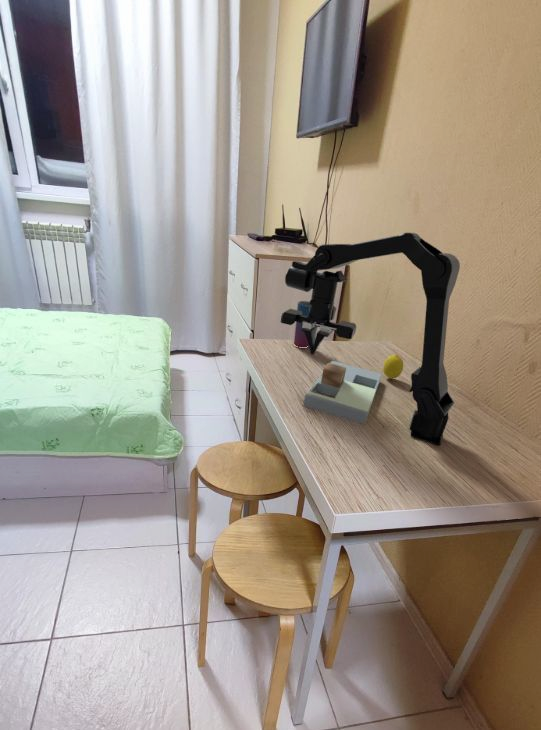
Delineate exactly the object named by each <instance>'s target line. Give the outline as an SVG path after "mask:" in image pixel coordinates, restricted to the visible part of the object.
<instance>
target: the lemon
mask: <svg viewBox="0 0 541 730" xmlns="http://www.w3.org/2000/svg"><path fill="white" fill-rule="evenodd" d="M382 369H383V374H384V375H385V376H386V377H387V378H388V380H392V379H396V378H398V377H399V376H401V374H402V373H403V371H404V361H403V358H402V357H400V356H399V355H398V354H393V355H389V356H388V357H387V358H386V359H385V361H384V363H383V367H382Z"/></svg>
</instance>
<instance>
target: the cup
mask: <svg viewBox="0 0 541 730" xmlns="http://www.w3.org/2000/svg"><path fill="white" fill-rule="evenodd" d="M309 306H310V300H309V301H308V300H299V301H297V306H296V307H297V308H296V310H298V311H302V316H308V315H309ZM311 322H312V321H311ZM302 326H303V323H300V322H296V321H295V329H294V340H293V345H294V344H295V345H296V346H298V347H307V346H308V347H309V345H308V341H307V338H306V336H305V333H304V332H303V331H301V328H302Z"/></svg>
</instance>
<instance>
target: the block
mask: <svg viewBox="0 0 541 730" xmlns="http://www.w3.org/2000/svg"><path fill="white" fill-rule="evenodd" d="M345 372H346V367H342V366H339V365H335V364H331V362H328V363H327V364H326V365H325V366H324V368H323V370H322V373H323V374H321V375H322V379H321V383H324V384H327V385H330V386H334V387H337V388H340V386H341V384H342V383H343V381H344V376H345Z"/></svg>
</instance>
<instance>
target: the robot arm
mask: <svg viewBox="0 0 541 730" xmlns="http://www.w3.org/2000/svg"><path fill="white" fill-rule="evenodd" d="M397 254H403V255H405V257H406V258H407V259H408V260H409V261H410V263H412V264H413V265H414V266H415V267H416V268H417V269H418V270H420V272H421V281H422V289H423V292H424V295H425V298H426V303H425V304H426V307H425V318H424V332H423V346H422V356H421V357H422V358H421V366H419V367H418V368H417V369H416V370H415V371H413V372H412V373H411V375H410V380H411V386H410V389H409V392H412V398H413V401H415V403H416V409H415V410H413V411H414V412H413V414H412V417H411V420H410V424H409V431H410V437H411V438H414V439H417V440H421V441H423V442H424V441H425V442H427V443H430V444H434V445H436V446H441V445H442V438H443V434H444V431H445V429H446V427H447V424H448V421H449V411H450V410H451V408H452V407H453V406H454V404H455V402H454V400H453V398H452V396H451V395H450V393H449V391H448V390H449V389H448V388H449V386H448V378H447V377H448V375H447V372H446V368H445V365H444V360H445V359H444V358H445V347H446V339H447V338H446V337H447V327H448V316H449V306H450V298H451V295H452V293H453V291H454V288H455V286H456V282H457V279H458V276H459V272H460V269H461V263H460V261H459V259H458V258H457V256H455V255H454V254H452V253H449V252H448V253H447V252H444V253H443V252H442V251H441V250H440V249H438V248H437V247H436V246H434V245H433V244H431V243H429V242H427V240H424V239H423V238H422V237H421V236H420V235H419V234H418V233H415V232H403V233H401V234H399V235H393V236H392V235H391V236H389V237H388V236H387V237H383V238H378V239H372V240H367V241H362V242H357V243H352V244H351V243H325V244H324V243H323V244H320V245H319V246H318V247H317V248H316V250H315V253H314V255H313V257H311V259H310V260H309V261H307V263H303V262H302V261H299V260H293V261H292V262H291V266H290V267H289V268H288V270H287V273H286V274H285V276H284V277H285V278H284V280H285V282H284V283H285V285H286V287H288V288H291V289H295V290H299V291H302V292H306V293H309V292H310V291H312V292H311V298H310V300H309V301H310V306H309V315H308V316H302V311H298V310H297V309H294V308H289V309H287V310H285V311H284V312H283V313H282V314H281V316H280V317H281V318H280V323H281V324H284V325H288V326H292V325H294V324H296V322H300V323H303V326H302V328H301V331H303V332H304V333H305V336H306V338H307V341H308V345H309V346H308V348H309V351H310V355H312V356H313V355H315V354H316V353H317V350H318V349H319V347H320V345H321V343H322V341H323V340H324V339H325V338H329V337H330V336H331V334H332V333H333V331H334V332H335V333H336V336H337V337H338V338H341V339H347V340H352V339H353V337H354V335H356V332H357V324H356V323H354V322H351V321H345V320H341V321H340V322H339V323H336V322H331V321H333V320H335V314H336V312H337V307H336V306H335V298H336V294H337V293H336V292H337V287H338V283H344V282H347V281H348V279H347V277H346V276H345V275H344V273H343V270H337V271H336V272H332V271H329V270H333V269H339V268H342V267H346V266H348V265H350V264H352V263H355V262H357V261H360V260H366V259H367V260H368V259H371V258H372V259H373V258H374V259H375V258H378V257H379V258H380V257H385V256H390V255H397ZM318 271H322V272H318ZM311 321H312V322H311ZM318 328H319V330H318Z"/></svg>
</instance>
